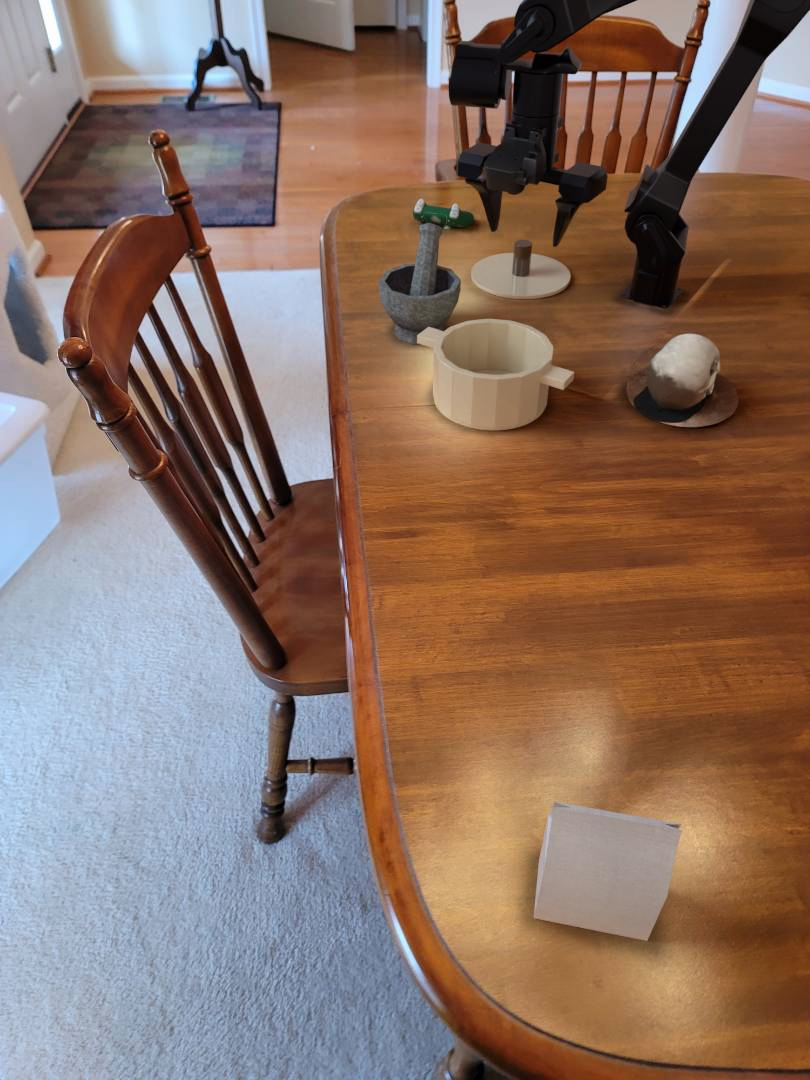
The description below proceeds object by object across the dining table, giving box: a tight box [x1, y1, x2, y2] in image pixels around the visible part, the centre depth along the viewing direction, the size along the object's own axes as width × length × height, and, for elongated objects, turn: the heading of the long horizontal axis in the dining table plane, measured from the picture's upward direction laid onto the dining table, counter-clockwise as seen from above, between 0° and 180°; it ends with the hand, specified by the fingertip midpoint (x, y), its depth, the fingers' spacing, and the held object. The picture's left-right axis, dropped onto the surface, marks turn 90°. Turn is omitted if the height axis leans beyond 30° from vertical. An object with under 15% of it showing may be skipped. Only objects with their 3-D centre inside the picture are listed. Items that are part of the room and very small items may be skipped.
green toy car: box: [412, 198, 475, 230], centre depth 128 cm, size 9×4×6 cm
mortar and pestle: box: [378, 223, 462, 345], centre depth 101 cm, size 11×9×12 cm
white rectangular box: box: [533, 801, 683, 942], centre depth 48 cm, size 4×7×10 cm, turn 78°
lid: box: [470, 239, 572, 300], centre depth 113 cm, size 14×14×5 cm
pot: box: [417, 318, 575, 431], centre depth 91 cm, size 13×18×6 cm
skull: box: [625, 333, 740, 428], centre depth 92 cm, size 12×10×10 cm
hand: (524, 238), depth 111 cm, fingers open, 9 cm apart
